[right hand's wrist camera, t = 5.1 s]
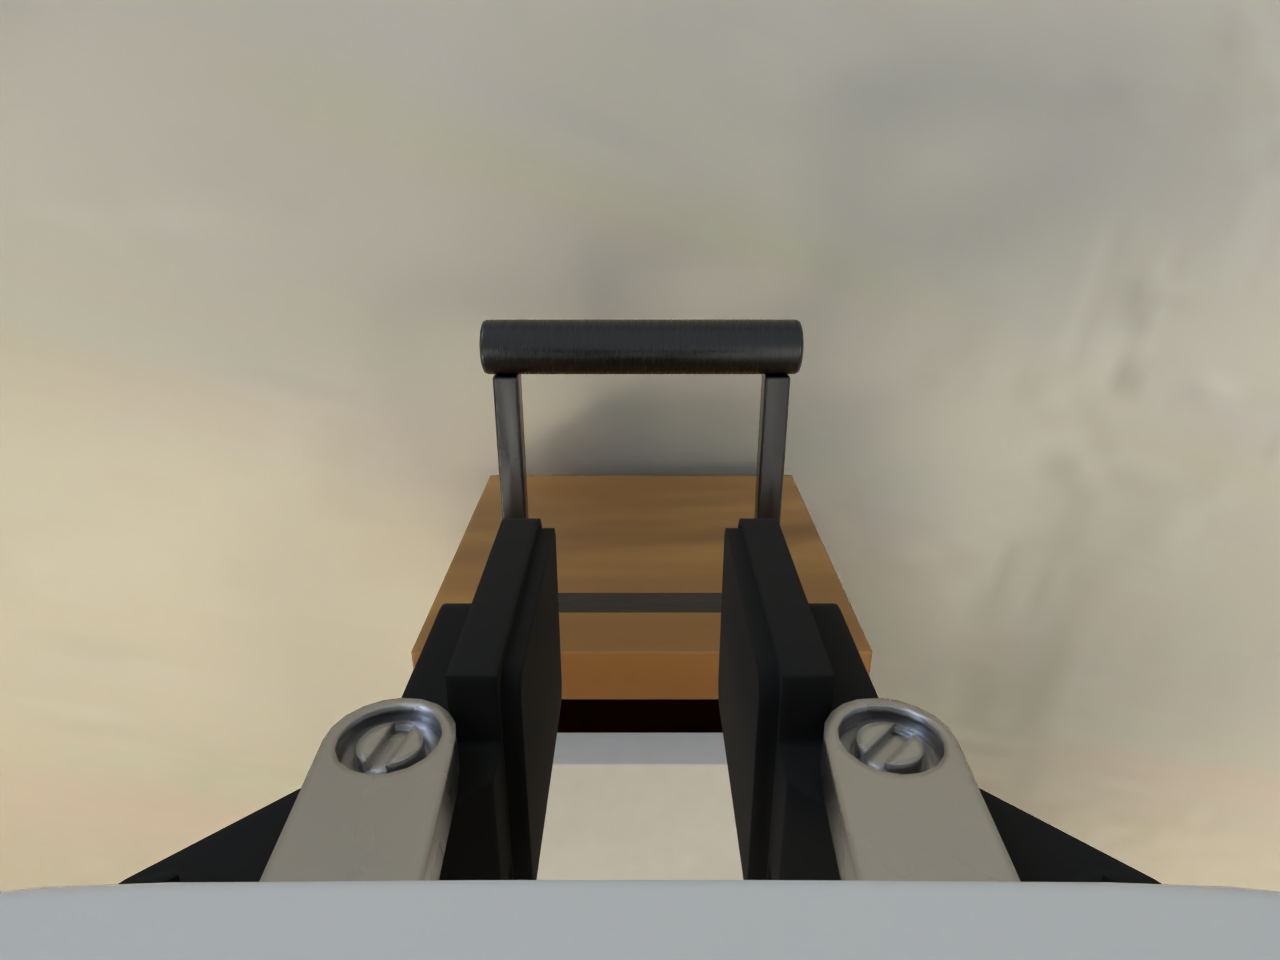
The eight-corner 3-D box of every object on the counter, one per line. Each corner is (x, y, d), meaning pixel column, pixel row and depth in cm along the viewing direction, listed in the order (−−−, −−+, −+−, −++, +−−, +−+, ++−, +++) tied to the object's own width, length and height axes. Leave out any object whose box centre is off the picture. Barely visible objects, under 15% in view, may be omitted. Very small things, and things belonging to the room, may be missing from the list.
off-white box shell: (480, 519, 28) (377, 764, 17) (801, 519, 28) (906, 764, 17) (505, 836, 33) (438, 1182, 22) (776, 836, 33) (844, 1182, 22)
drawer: (476, 287, 24) (377, 375, 15) (805, 287, 24) (906, 375, 15) (512, 787, 31) (459, 1057, 22) (769, 787, 31) (823, 1057, 22)
